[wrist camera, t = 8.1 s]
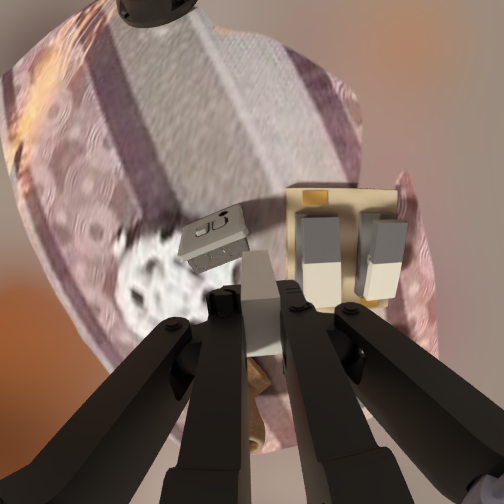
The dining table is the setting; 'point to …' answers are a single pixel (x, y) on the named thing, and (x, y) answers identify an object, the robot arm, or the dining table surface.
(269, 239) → the dining table surface
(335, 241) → the rocker
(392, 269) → the rocker
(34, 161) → the dining table surface
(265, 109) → the dining table surface
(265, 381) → the tan piece
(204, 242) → the electrical switch
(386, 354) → the robot arm
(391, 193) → the switch board
